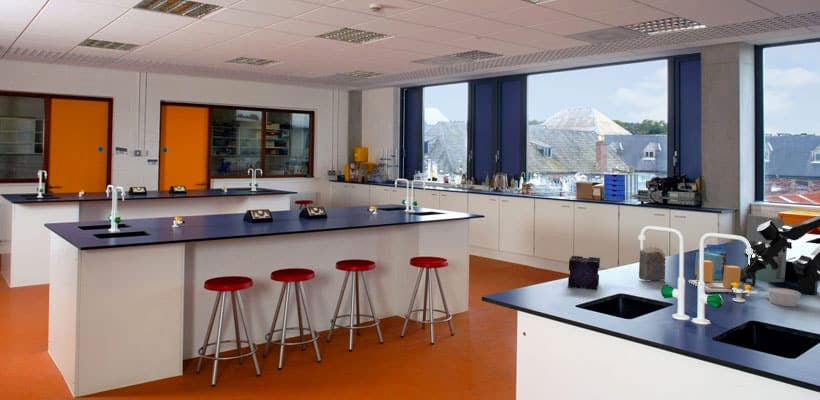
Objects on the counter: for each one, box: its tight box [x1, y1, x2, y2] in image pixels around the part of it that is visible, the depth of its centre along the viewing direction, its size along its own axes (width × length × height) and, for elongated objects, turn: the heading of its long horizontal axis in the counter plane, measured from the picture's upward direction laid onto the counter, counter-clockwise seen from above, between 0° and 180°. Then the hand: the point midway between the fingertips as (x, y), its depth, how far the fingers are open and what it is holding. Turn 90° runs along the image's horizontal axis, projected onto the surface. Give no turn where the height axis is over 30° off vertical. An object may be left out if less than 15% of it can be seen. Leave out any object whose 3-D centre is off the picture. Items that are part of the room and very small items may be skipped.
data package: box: [694, 251, 723, 281], centre depth 293 cm, size 12×4×12 cm, turn 20°
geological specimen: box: [638, 246, 667, 282], centre depth 285 cm, size 11×6×15 cm, turn 109°
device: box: [743, 213, 789, 283], centre depth 294 cm, size 16×8×30 cm, turn 16°
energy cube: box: [567, 255, 601, 291], centre depth 270 cm, size 12×12×12 cm
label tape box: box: [705, 244, 727, 270], centre depth 318 cm, size 9×4×12 cm, turn 81°
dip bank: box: [687, 279, 732, 293], centre depth 273 cm, size 17×19×1 cm
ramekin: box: [767, 287, 802, 307], centre depth 246 cm, size 11×11×5 cm
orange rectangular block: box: [722, 265, 742, 288], centre depth 266 cm, size 5×4×9 cm
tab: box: [695, 260, 713, 282], centre depth 278 cm, size 5×4×9 cm
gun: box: [740, 266, 757, 287], centre depth 285 cm, size 3×16×10 cm, turn 175°
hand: (745, 272), depth 266 cm, fingers closed
